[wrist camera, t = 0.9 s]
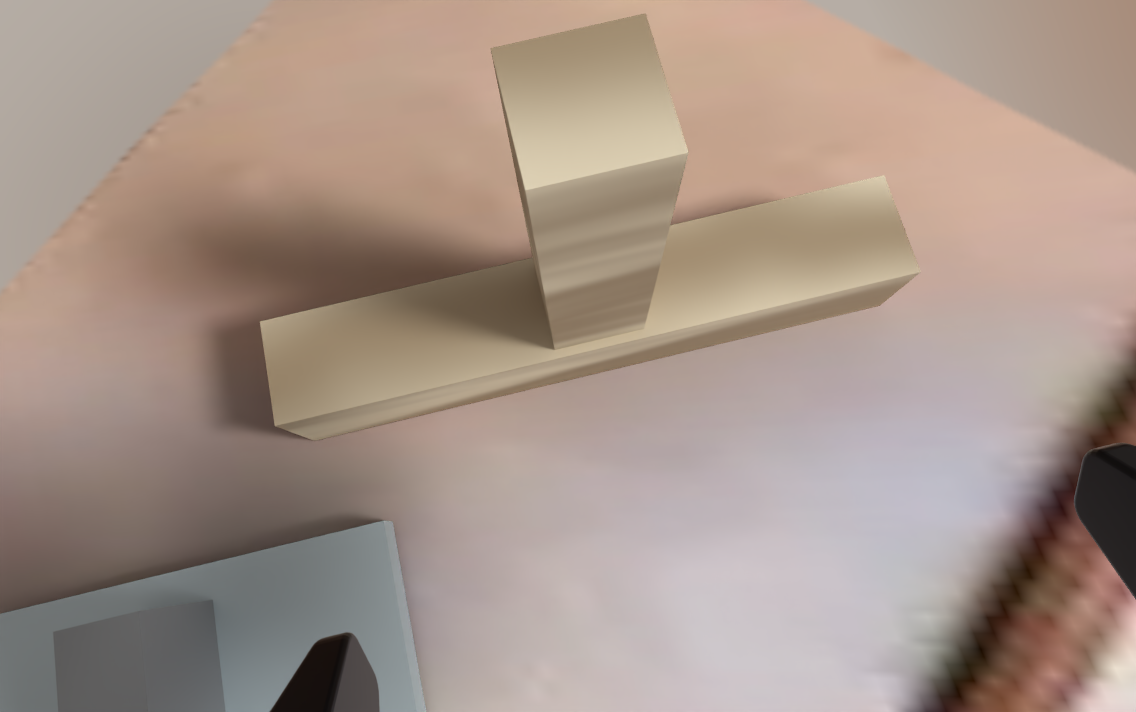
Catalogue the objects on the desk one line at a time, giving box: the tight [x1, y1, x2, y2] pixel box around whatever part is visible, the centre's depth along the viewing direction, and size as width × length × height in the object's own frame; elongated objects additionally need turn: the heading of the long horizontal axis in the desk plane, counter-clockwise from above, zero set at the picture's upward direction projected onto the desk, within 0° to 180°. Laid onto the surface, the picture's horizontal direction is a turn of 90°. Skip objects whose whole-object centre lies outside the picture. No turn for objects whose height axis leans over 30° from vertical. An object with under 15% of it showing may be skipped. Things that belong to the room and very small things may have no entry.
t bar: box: [260, 14, 920, 441], centre depth 18 cm, size 3×18×12 cm, turn 104°
